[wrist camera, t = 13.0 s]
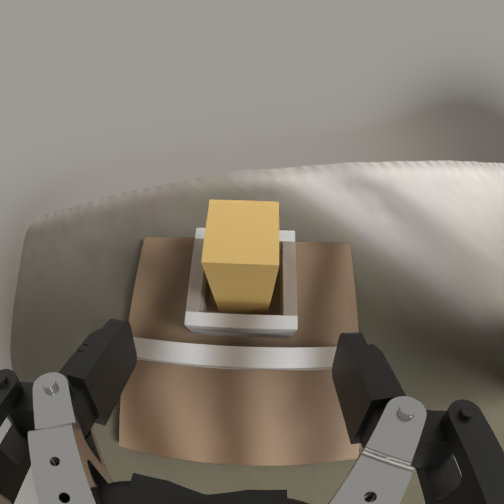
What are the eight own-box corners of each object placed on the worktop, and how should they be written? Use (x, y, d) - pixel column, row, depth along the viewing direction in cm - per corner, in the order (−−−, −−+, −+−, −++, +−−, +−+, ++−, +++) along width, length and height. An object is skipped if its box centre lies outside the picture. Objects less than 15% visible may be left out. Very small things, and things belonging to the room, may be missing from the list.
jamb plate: (346, 248, 28) (361, 224, 24) (354, 455, 19) (375, 466, 14) (147, 241, 28) (132, 217, 24) (123, 444, 19) (100, 452, 15)
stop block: (268, 270, 25) (278, 201, 16) (267, 314, 24) (279, 265, 15) (223, 268, 25) (209, 199, 16) (219, 312, 24) (201, 262, 15)
